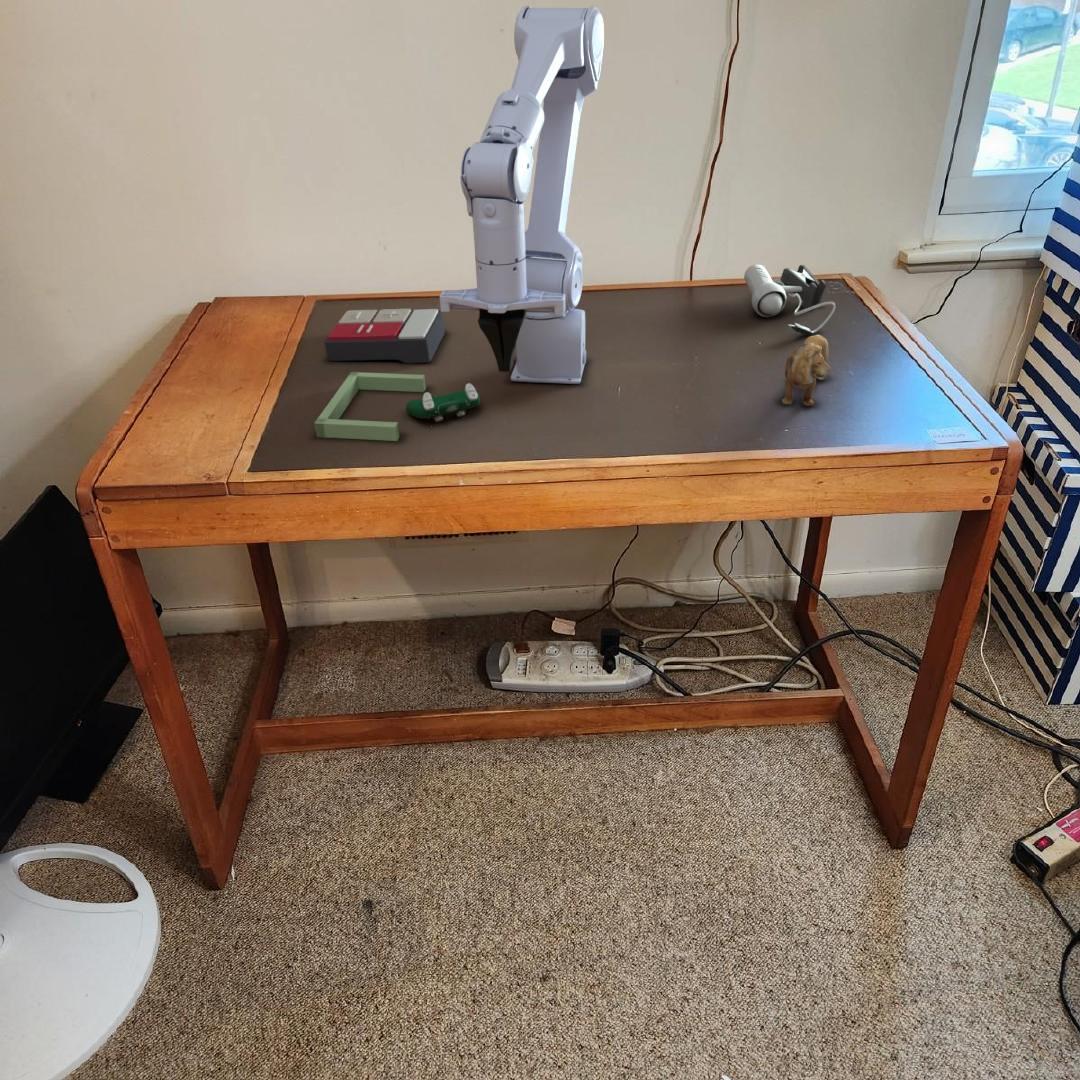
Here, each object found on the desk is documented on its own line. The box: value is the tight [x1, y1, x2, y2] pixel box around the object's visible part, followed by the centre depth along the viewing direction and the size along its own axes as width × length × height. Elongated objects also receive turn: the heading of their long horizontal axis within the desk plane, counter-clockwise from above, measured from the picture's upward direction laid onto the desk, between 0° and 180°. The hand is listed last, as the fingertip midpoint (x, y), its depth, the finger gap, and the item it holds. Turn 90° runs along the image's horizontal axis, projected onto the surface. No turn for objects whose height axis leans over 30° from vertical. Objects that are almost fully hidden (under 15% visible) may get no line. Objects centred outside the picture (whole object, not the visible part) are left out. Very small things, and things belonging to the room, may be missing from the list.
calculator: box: [323, 308, 446, 364], centre depth 131 cm, size 11×4×15 cm
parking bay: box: [314, 371, 427, 442], centre depth 115 cm, size 10×14×2 cm
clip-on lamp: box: [743, 263, 837, 337], centre depth 136 cm, size 12×6×18 cm
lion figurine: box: [781, 334, 832, 407], centre depth 114 cm, size 15×5×9 cm, turn 162°
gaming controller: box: [405, 382, 481, 423], centre depth 113 cm, size 9×4×6 cm
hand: (505, 368), depth 109 cm, fingers closed
